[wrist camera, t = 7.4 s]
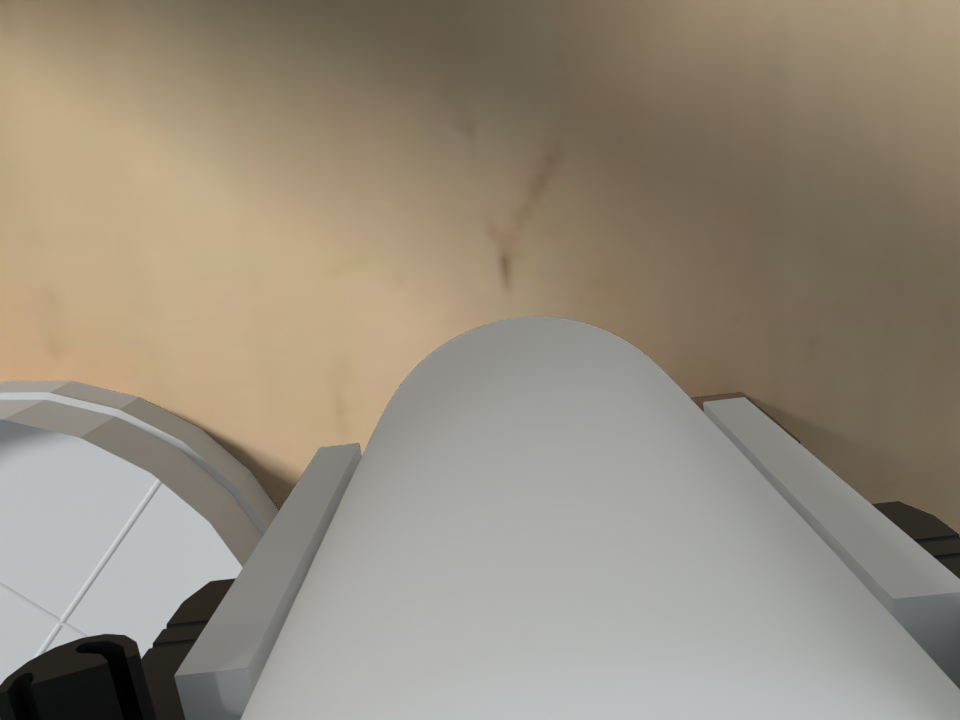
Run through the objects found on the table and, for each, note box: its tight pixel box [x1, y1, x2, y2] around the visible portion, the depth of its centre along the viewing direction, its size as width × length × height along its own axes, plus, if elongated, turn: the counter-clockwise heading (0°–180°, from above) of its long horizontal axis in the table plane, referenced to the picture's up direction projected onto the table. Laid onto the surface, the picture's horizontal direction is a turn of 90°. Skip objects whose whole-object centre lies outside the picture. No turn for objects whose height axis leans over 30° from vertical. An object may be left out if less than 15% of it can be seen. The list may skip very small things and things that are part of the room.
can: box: [240, 317, 960, 720], centre depth 9 cm, size 6×6×12 cm
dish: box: [0, 381, 279, 685], centre depth 32 cm, size 22×22×5 cm
